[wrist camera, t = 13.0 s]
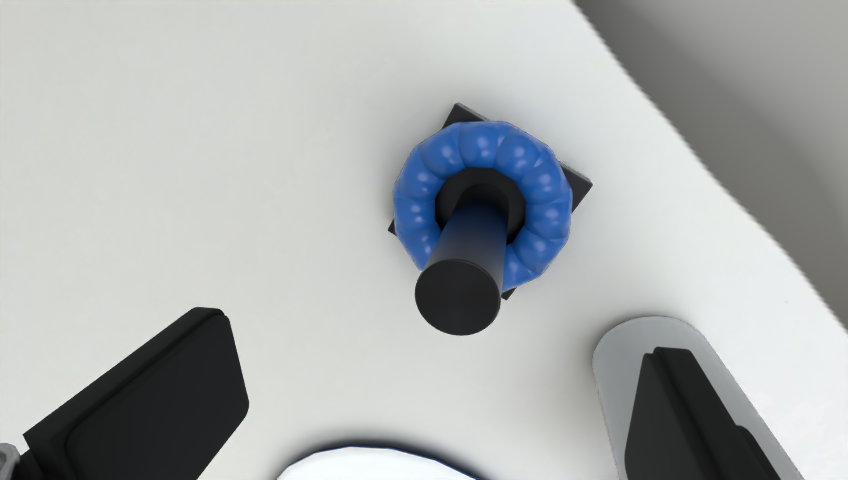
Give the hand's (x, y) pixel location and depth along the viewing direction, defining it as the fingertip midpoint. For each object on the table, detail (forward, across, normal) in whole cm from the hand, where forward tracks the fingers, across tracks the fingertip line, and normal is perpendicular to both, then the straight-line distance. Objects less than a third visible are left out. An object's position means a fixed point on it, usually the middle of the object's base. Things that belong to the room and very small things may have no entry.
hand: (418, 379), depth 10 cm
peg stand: (+16, 0, +1) cm, 16 cm away
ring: (+13, 0, 0) cm, 13 cm away
